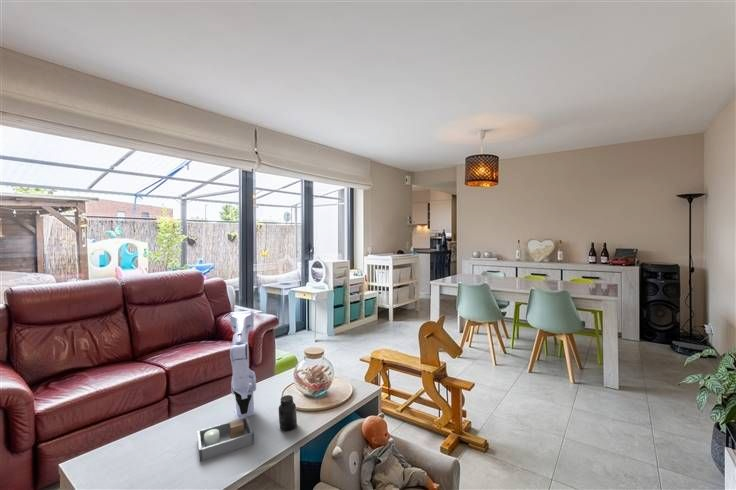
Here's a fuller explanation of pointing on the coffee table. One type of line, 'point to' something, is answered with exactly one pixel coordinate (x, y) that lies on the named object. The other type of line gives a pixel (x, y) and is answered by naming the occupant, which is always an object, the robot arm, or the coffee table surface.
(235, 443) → the tote
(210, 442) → the pale green cylinder
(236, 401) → the robot arm
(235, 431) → the walnut block
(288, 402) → the supplement bottle
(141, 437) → the coffee table surface
